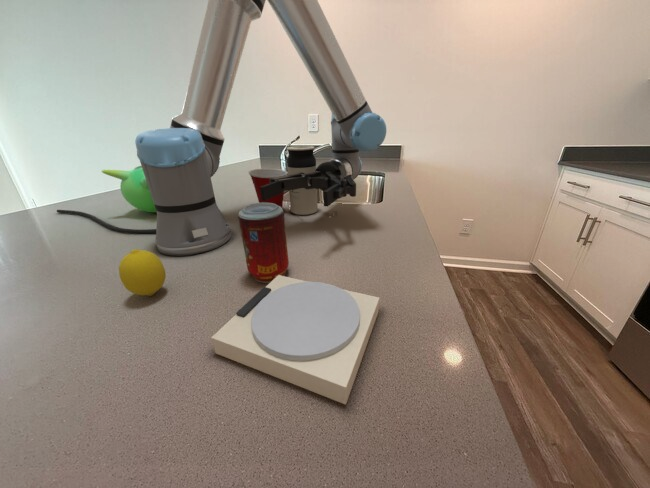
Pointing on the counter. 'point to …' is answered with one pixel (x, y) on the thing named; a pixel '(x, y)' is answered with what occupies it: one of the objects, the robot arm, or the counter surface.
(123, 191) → the toy bird
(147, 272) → the lemon
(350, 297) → the kitchen scale
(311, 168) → the travel mug
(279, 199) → the plastic cup
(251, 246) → the soda can
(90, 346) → the counter surface
